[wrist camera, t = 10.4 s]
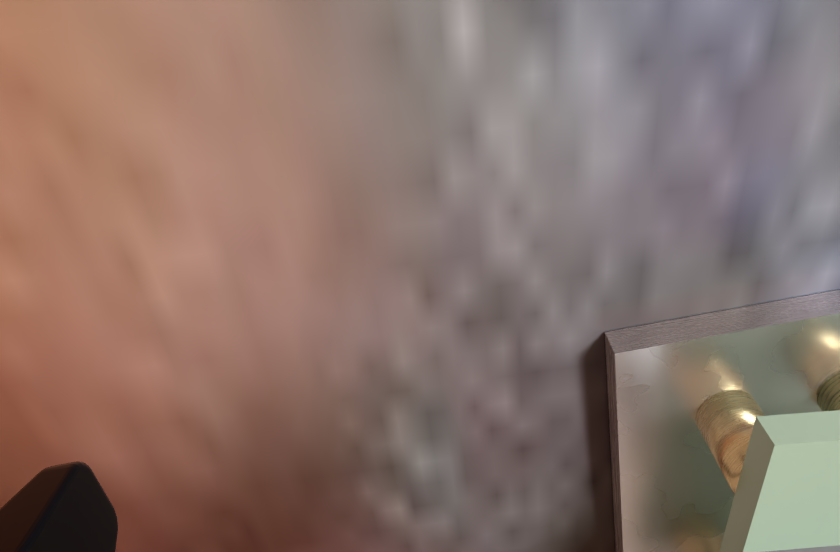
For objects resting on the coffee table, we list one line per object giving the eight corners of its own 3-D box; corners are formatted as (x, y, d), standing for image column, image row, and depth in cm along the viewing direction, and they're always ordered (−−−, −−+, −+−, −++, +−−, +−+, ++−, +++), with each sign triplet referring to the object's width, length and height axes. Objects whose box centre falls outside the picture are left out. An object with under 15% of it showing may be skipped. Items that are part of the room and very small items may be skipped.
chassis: (879, 575, 29) (939, 663, 26) (619, 619, 29) (649, 711, 26) (955, 268, 21) (1050, 343, 19) (604, 332, 22) (644, 415, 19)
